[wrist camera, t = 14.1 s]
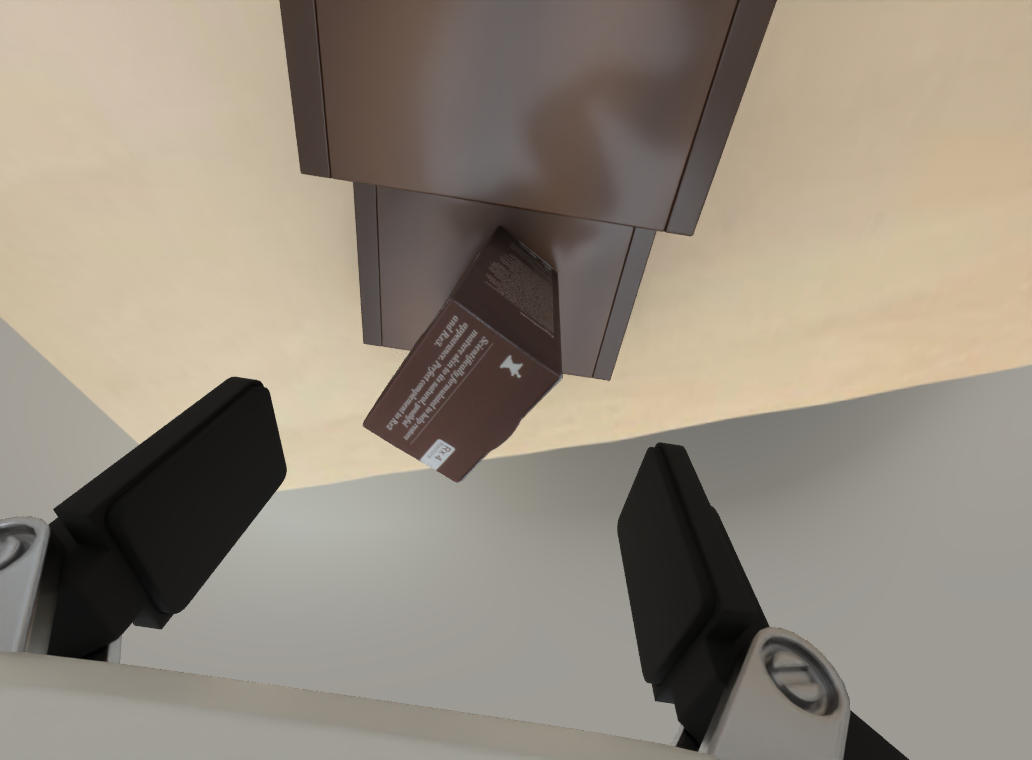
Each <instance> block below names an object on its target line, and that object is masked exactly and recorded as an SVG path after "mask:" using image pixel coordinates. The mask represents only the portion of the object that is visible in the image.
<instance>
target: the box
mask: <svg viewBox="0 0 1032 760" xmlns="http://www.w3.org/2000/svg"><path fill="white" fill-rule="evenodd" d="M562 378H563V373H562V351H561V329H560V306H559V283H558V272H557V271H556V270H555V269H554V268H553V267H551V266H550V264H549V263H547V262H546V261H544V260H543V259H542V258H541V257H539V256H538V255H537V254H536V253H535V252H534V251H532V250H531V249H529V248H528V247H526V246H525V245H524V244H523V243H522V242H521V241H519V240H518V239H517V238H515V237H514V236H513V235H512V234H511V233H509V232H508V231H507V230H505V229H504V228H503V227H502V226H498V227H497V229H496V230H495V232H494V233H493V234H492V236H491V237H490V239H489V240H488V241H487V243H486V244H485V246H484V247H483V249H482V250H481V251H480V253H479V254H478V256H477V257H476V258H475V260H474V261H473V263H472V264H471V265H470V267H469V268H468V270H467V271H466V273H465V274H464V276H463V277H462V278H461V280H460V281H459V283H458V284H457V286H456V287H455V289H454V290H453V292H452V293H451V294H450V296H449V297H448V299H447V300H446V302H445V303H444V305H443V306H442V308H441V309H440V310H439V312H438V313H437V315H436V316H435V318H434V319H433V320H432V322H431V323H430V325H429V326H428V327H427V329H426V330H425V331H424V333H423V334H422V335H421V336H420V338H419V339H418V340H417V342H416V343H415V344H414V346H413V348H412V350H411V351H410V352H409V354H408V356H407V357H406V358H405V360H404V361H403V363H402V364H401V366H400V367H399V369H398V370H397V372H396V373H395V375H394V376H393V377H392V379H391V380H390V382H389V383H388V385H387V386H386V388H385V389H384V391H383V392H382V394H381V395H380V397H379V398H378V400H377V401H376V403H375V405H374V406H373V408H372V409H371V411H370V412H369V414H368V415H367V417H366V419H365V420H364V422H363V426H364V427H365V428H366V429H368V430H369V431H371V432H373V433H374V434H376V435H378V436H379V437H381V438H382V439H384V440H385V441H387V442H389V443H390V444H392V445H394V446H395V447H397V448H399V449H400V450H402V451H404V452H405V453H407V454H409V455H411V456H412V457H414V458H416V459H418V460H419V461H421V462H423V463H424V464H426V465H428V466H429V467H431V468H433V469H434V470H436V471H438V472H440V473H441V474H443V475H445V476H446V477H448V478H450V479H451V480H453V481H454V482H461V481H462V480H464V479H465V478H466V477H467V475H468V474H469V473H470V472H471V471H472V470H473V469H474V468H475V467H476V466H477V465H478V464H479V463H480V462H481V461H482V459H483V458H484V457H485V456H486V455H487V454H488V453H489V452H490V451H492V450H493V449H495V448H497V447H499V446H500V445H501V444H502V443H504V442H505V441H506V440H507V439H508V438H509V437H510V436H511V435H512V434H513V432H514V431H515V430H516V428H517V427H518V425H519V423H520V421H521V419H522V418H524V417H525V416H526V414H527V413H528V412H529V411H530V410H531V409H532V408H533V407H534V406H535V405H536V404H537V403H538V402H539V401H540V400H541V399H542V398H543V397H544V396H545V395H546V394H547V393H548V392H549V391H550V390H551V389H552V388H553V387H554V386H555V385H556V384H557V383H559V382H560V381H561V379H562Z"/></svg>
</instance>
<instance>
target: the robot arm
mask: <svg viewBox="0 0 1032 760" xmlns="http://www.w3.org/2000/svg"><path fill="white" fill-rule="evenodd" d="M286 472H287V467H286V463H285V458H284V454H283V449H282V445H281V440H280V436H279V431H278V427H277V423H276V418H275V414H274V409H273V405H272V400H271V396H270V392H269V390H268V389H267V388H265V387H264V386H263V384H262V383H261V382H260V381H258V380H253V379H246V378H240V377H231V378H229V379H227V380H226V381H224V382H223V383H222V384H220V385H219V386H217V387H216V388H215V389H213V390H212V391H211V392H209V393H208V394H207V395H205V396H204V397H203V398H201V399H200V400H199V401H197V402H196V403H195V404H193V405H192V406H191V407H189V408H188V409H187V410H185V411H184V412H183V413H181V414H180V415H179V416H177V417H176V418H175V419H173V420H172V421H171V422H169V423H168V424H167V425H165V426H164V427H163V428H161V429H160V430H159V431H157V432H156V433H155V434H153V435H152V436H151V437H149V438H148V439H147V440H145V441H144V442H142V443H141V444H140V445H138V446H137V447H136V448H135V449H133V450H132V451H130V452H129V453H128V454H126V455H125V456H124V457H122V458H121V459H120V460H118V461H117V462H116V463H114V464H113V465H112V466H110V467H109V468H108V469H106V470H105V471H104V472H102V473H101V474H100V475H98V476H97V477H96V478H94V479H93V480H92V481H90V482H89V483H88V484H86V485H85V486H84V487H82V488H81V489H80V490H78V491H77V492H76V493H74V494H73V495H72V496H70V497H69V498H67V499H66V500H65V501H63V502H62V503H61V504H60V505H58V506H57V507H56V508H54V509H53V510H54V511H55V513H56V514H57V516H58V518H56V519H55V520H54V521H53V522H51V523H50V524H49V525H48V524H47V523H46V522H45V521H43V520H42V519H39V518H35V517H30V516H29V517H12V518H6V519H1V520H0V760H909V759H907V757H905V756H904V755H903V754H902V753H901V752H900V751H898V750H897V749H896V748H895V747H893V746H892V745H891V744H889V742H888V741H886V740H885V739H884V738H883V737H882V736H881V735H879V734H878V733H877V732H876V731H874V730H873V729H872V728H871V727H870V726H869V725H867V724H866V723H865V722H864V721H863V720H861V719H860V718H859V717H858V716H857V715H856V714H854V713H853V712H852V711H851V710H850V699H849V696H848V693H847V690H846V688H845V685H844V683H843V681H842V679H841V678H840V676H839V674H838V673H837V671H836V670H835V668H834V667H833V665H832V664H831V663H830V662H829V661H828V660H827V658H826V657H825V656H824V655H823V654H822V653H821V652H820V651H819V650H817V648H815V647H814V646H813V645H812V644H811V643H810V642H808V641H807V640H805V639H804V638H802V637H800V636H799V635H797V634H795V633H794V632H791V631H788V630H785V629H782V628H776V627H775V628H774V627H769V625H768V622H767V620H766V618H765V616H764V613H763V611H762V609H761V607H760V605H759V602H758V600H757V598H756V596H755V594H754V592H753V589H752V587H751V585H750V583H749V581H748V578H747V576H746V574H745V572H744V570H743V567H742V565H741V563H740V561H739V559H738V556H737V554H736V552H735V550H734V548H733V545H732V543H731V541H730V539H729V537H728V534H727V532H726V530H725V528H724V526H723V524H722V521H721V519H720V517H719V515H718V513H717V512H716V510H715V509H714V508H713V507H712V506H711V505H710V503H709V501H708V499H707V496H706V494H705V492H704V490H703V487H702V485H701V483H700V481H699V479H698V476H697V474H696V472H695V469H694V467H693V465H692V463H691V461H690V458H689V456H688V454H687V452H686V450H685V448H684V447H683V446H680V445H674V444H666V443H657V444H656V446H655V448H654V447H649V448H648V450H647V452H646V454H645V457H644V459H643V461H642V464H641V466H640V468H639V471H638V473H637V476H636V478H635V481H634V483H633V485H632V488H631V490H630V493H629V495H628V497H627V500H626V502H625V505H624V507H623V509H622V512H621V514H620V517H619V519H618V526H617V529H618V530H617V531H618V538H619V543H620V549H621V555H622V561H623V566H624V572H625V577H626V583H627V588H628V594H629V600H630V606H631V611H632V617H633V622H634V628H635V634H636V639H637V645H638V651H639V656H640V662H641V667H642V673H643V676H644V679H645V681H646V682H647V683H652V687H653V693H654V698H655V701H659V702H666V703H672V704H675V709H676V713H677V717H678V721H679V722H680V723H681V725H680V727H679V730H678V732H677V734H676V736H675V738H674V740H673V742H672V744H671V746H669V745H665V744H660V743H654V742H648V741H642V740H636V739H630V738H625V737H619V736H613V735H607V734H601V733H595V732H589V731H584V730H578V729H571V728H565V727H558V726H551V725H545V724H538V723H530V722H524V721H518V720H511V719H504V718H498V717H491V716H484V715H478V714H471V713H464V712H457V711H450V710H443V709H437V708H430V707H424V706H417V705H409V704H403V703H396V702H389V701H382V700H375V699H368V698H361V697H354V696H347V695H340V694H333V693H326V692H319V691H312V690H305V689H299V688H291V687H285V686H278V685H270V684H263V683H256V682H249V681H242V680H235V679H226V678H220V677H212V676H206V675H198V674H191V673H184V672H177V671H169V670H162V669H155V668H147V667H141V666H133V665H126V664H120V654H121V639H122V634H123V633H124V631H125V630H126V629H127V628H128V627H129V626H130V625H131V623H133V624H134V625H135V626H141V627H148V628H155V629H162V628H163V627H164V626H165V624H166V623H167V622H168V621H169V619H170V618H171V617H172V616H173V614H177V613H179V612H181V611H182V610H183V609H184V608H185V607H186V606H187V605H188V604H189V603H190V601H191V600H192V599H193V598H194V596H195V595H196V594H197V592H198V591H199V590H200V588H201V587H202V586H203V585H204V583H205V582H206V581H207V579H208V578H209V577H210V575H211V574H212V573H213V572H214V570H215V569H216V568H217V566H218V565H219V564H220V563H221V561H222V560H223V559H224V557H225V556H226V555H227V553H228V552H229V551H230V550H231V548H232V547H233V546H234V545H235V543H236V542H237V541H238V539H239V538H240V537H241V535H242V534H243V533H244V532H245V530H246V529H247V528H248V526H249V525H250V524H251V522H252V521H253V520H254V519H255V517H256V516H257V515H258V513H259V512H260V511H261V510H262V508H263V507H264V506H265V504H266V503H267V502H268V501H269V499H270V498H271V497H272V495H273V494H274V493H275V492H276V490H277V489H278V488H279V486H280V485H281V484H282V482H283V481H284V479H285V476H286Z"/></svg>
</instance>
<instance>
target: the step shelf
mask: <svg viewBox="0 0 1032 760" xmlns="http://www.w3.org/2000/svg"><path fill="white" fill-rule="evenodd" d="M279 1H280V9H281V17H282V25H283V33H284V41H285V49H286V57H287V65H288V73H289V81H290V90H291V98H292V106H293V114H294V122H295V130H296V138H297V146H298V154H299V162H300V170H301V173H302V174H307V175H313V176H319V177H325V178H333V179H338V180H345V181H351V182H353V187H354V203H355V218H356V234H357V250H358V266H359V281H360V297H361V313H362V328H363V343H364V344H369V345H376V346H383V347H389V348H396V349H403V350H409V351H411V350H412V348H413V346H414V344H415V343H416V342H417V340H418V339H419V338H420V336H421V335H422V334H423V333H424V331H425V330H426V329H427V327H428V326H429V325H430V323H431V322H432V320H433V319H434V318H435V316H436V315H437V313H438V312H439V310H440V309H441V308H442V306H443V305H444V303H445V302H446V300H447V299H448V297H449V296H450V294H451V293H452V292H453V290H454V289H455V287H456V286H457V284H458V283H459V281H460V280H461V278H462V277H463V276H464V274H465V273H466V271H467V270H468V268H469V267H470V265H471V264H472V263H473V261H474V260H475V258H476V257H477V256H478V254H479V253H480V251H481V250H482V249H483V247H484V246H485V244H486V243H487V241H488V240H489V239H490V237H491V236H492V234H493V233H494V232H495V230H496V229H497V227H498V226H502V227H503V228H504V229H505V230H507V231H508V232H509V233H511V234H512V235H513V236H514V237H515V238H517V239H518V240H519V241H521V242H522V243H523V244H524V245H525V246H526V247H528V248H529V249H531V250H532V251H534V252H535V253H536V254H537V255H538V256H539V257H541V258H542V259H543V260H544V261H546V262H547V263H549V264H550V266H551V267H553V268H554V269H555V270H556V271H557V272H558V283H559V306H560V329H561V351H562V373H563V374H569V375H575V376H582V377H589V378H596V379H602V380H610V379H611V376H612V373H613V370H614V367H615V363H616V360H617V357H618V354H619V350H620V347H621V344H622V341H623V338H624V334H625V331H626V328H627V325H628V321H629V318H630V315H631V312H632V309H633V305H634V302H635V299H636V296H637V292H638V289H639V286H640V283H641V279H642V276H643V273H644V270H645V267H646V263H647V260H648V257H649V254H650V250H651V247H652V244H653V241H654V238H655V234H656V231H661V232H662V231H665V232H667V233H673V234H679V235H686V236H692V235H693V234H694V231H695V228H696V225H697V222H698V220H699V217H700V214H701V211H702V208H703V206H704V203H705V200H706V197H707V194H708V192H709V189H710V186H711V183H712V180H713V178H714V175H715V172H716V169H717V166H718V164H719V161H720V158H721V155H722V152H723V150H724V147H725V144H726V141H727V138H728V136H729V133H730V130H731V127H732V124H733V122H734V119H735V116H736V113H737V110H738V108H739V105H740V102H741V99H742V96H743V94H744V91H745V88H746V85H747V82H748V80H749V77H750V74H751V71H752V68H753V66H754V63H755V60H756V57H757V55H758V52H759V49H760V46H761V43H762V41H763V38H764V35H765V32H766V29H767V27H768V24H769V21H770V18H771V15H772V13H773V10H774V7H775V4H776V1H777V0H279Z"/></svg>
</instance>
